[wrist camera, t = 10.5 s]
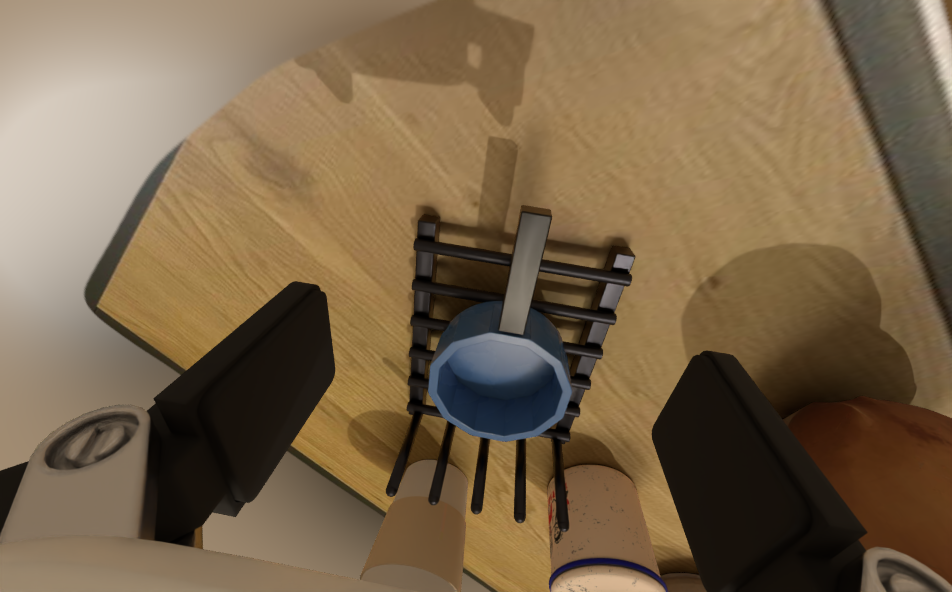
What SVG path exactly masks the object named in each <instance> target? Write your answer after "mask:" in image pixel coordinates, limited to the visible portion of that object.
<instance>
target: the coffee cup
mask: <svg viewBox="0 0 952 592" xmlns="http://www.w3.org/2000/svg"><path fill="white" fill-rule="evenodd" d="M437 461H438V460H421V461H418V462H415V463H413V464H411V465H410V466H409V467H408V468H407V470H406V472H405V475H404V477H403V480H402V482H401V484H400V487H399V489H398V492H397V494H396V497H395V499H394V501H393V503H392V504H391V505H390V507H389V509H388V512H387V514H386V516H385V519H384V521H383V523H382V526H381V528H380V531H379V533H378V535H377V538H376V540H375V543H374V545H373V547H372V550H371V552H370V554H369V557H368V559H367V562H366V564H365V566H364V569H363V571H362V573H361V576H360V580H363V581H368V582H373V583H378V584H383V585H388V586H393V587H398V588H403V589H407V590H412V591H417V592H461V584H462V571H463V558H464V544H465V531H466V522H465V513H466V501H467V489H468V481H467V478H466V476H465V475H464V474H463V472H462V471H460V470H459V469H458V468H456V467H455V466H453V465H451V464H449V463H448V464H447V469H446V473H445V478H444V482H443V487H442V491H441V496H440V500H439V503H438V504H437V505H434V506H433V505H431V504H430V503H429V502H428V497H429V493H430V489H431V485H432V481H433V477H434V473H435V469H436V465H437Z"/></svg>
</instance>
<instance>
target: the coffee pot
mask: <svg viewBox="0 0 952 592" xmlns="http://www.w3.org/2000/svg"><path fill="white" fill-rule="evenodd" d="M660 577H661V578H662V580H663V581H664V582H665V584H666V586H667V590H668V592H707V591H706V589H705V588H704V586H703V583H702V581H701V578H700V575H696V574H689V573H672V574H666V575H662V576H660Z"/></svg>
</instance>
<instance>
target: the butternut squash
mask: <svg viewBox="0 0 952 592" xmlns="http://www.w3.org/2000/svg"><path fill="white" fill-rule="evenodd" d="M783 421H784V422H785V424H786V425H787V426H788V428H789V429H790V430H791V432H792V433H793V434H794V436H795V437H796V438H797V439H798V441H799V442H800V443H801V445H802V446H803V447H804V449H805V450H806V451H807V453H808V454H809V455H810V457H811V458H812V459H813V461H814V462H815V463H816V465H817V466H818V467H819V469H820V470H821V471H822V473H823V474H824V475H825V477H826V478H827V479H828V481H829V482H830V483H831V484H832V486H833V487H834V488H835V490H836V491H837V492H838V494H839V495H840V496H841V498H842V499H843V500H844V502H845V503H846V504H847V506H848V507H849V508H850V510H851V511H852V512H853V514H854V515H855V516H856V518H857V519H858V520H859V522H860V523H861V524H862V526H863V527H864V528H865V529H866V531H867V532H868V533H867V534H865V535H864V536H863V537H861V538H860V539H859V541H860V542H861V544H862V545H863V547H864V548H865V549H866V550H869V549H871V548H874V547H883V548H890V549H893V550H895V551H898V552H901V553H904V554H906V555H908V556H910V557H911V558H913V559H915V560H917V561H919V562H920V563H922V564H924V565H925V566H927V567H928V568H930V569H931V570H932V571H934V572H935V573H937V574H938V575H939V576H941V577H942V578H944V579H945V580H946V581H947V582H948V583H949V584H951V585H952V418H949V417H947V416H944V415H942V414H939V413H937V412H934V411H931V410H928V409H924V408H921V407H917V406H913V405H908V404H903V403H898V402H894V401H889V400H875V399H873V398H870V397H866V396H859V397H857V398H854V399H851V400H846V401H841V402H832V403H825V402H812V403H810V404H809V405H807V406H805V407H803V408H802V409H800V410H798V411H797V412H795V413H793V414H792V415H790V416H788V417H786V418H785V419H783Z"/></svg>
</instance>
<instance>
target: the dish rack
mask: <svg viewBox="0 0 952 592" xmlns="http://www.w3.org/2000/svg"><path fill="white" fill-rule="evenodd" d="M439 230H440V217H437V216H431V215H425V214H424V215H423V216H422V217H421V218H420V219H419V220H418V232H417V238H416V239H415V241H414V250H415V251H417V253H416V274H415V279H414V280H413V282H412V290H415V295H414V315H412V317H411V321H410V324H411V325H412V326H413V337H412V347H411V348H410V351H409V357H412V358H411V376H409V379H408V385H409V386H410V401H409V402H408V405H407V411H409V414H410V415H413V416H412V419H411V422H410V425H409V427H408V430H407V433H406V436H405V438H404V441H403V444H402V447H401V449H400V452H399V455H398V458H397V460H396V463H395V466H394V469H393V471H392V474H391V477H390V480H389V482H388V485H387V488H386V494H387V495H388V496H389V497H393V496H395V495H396V493H397V491H398V488H399V485H400V482H401V479H402V476H403V473H404V470H405V467H406V464H407V461H408V458H409V455H410V452H411V449H412V446H413V443H414V440H415V437H416V434H417V431H418V428H419V425H420V422H421V419H422V416H423V414H425V415H430V416H436V417H441V418H444V417H443V416H442V415H441V413H440V411H439V410H438V408H437V407H436V406H430V405H426V394H427V389H428V387H429V379H428V369H429V361H432V359H433V357H434V354H435V351H432V350H430V344H431V331H432V329H434V330H440V331H445V330H446V328H447V327H448V325H449V324H450V322H451V321H446V320H440V319H435V318H433V306H434V294H438V295H444V296H449V297H455V298H461V299H467V300H472V301H478V302H490V301H503V298H504V294H500V293H494V292H488V291H482V290H477V289H471V288H465V287H459V286H453V285H448V284H442V283H436V282H435V280H436V268H437V255H438V254H439V255H445V256H451V257H457V258H463V259H468V260H474V261H480V262H486V263H492V264H498V265H504V266H510V262H511V257H512V254H507V253H501V252H495V251H490V250H484V249H478V248H472V247H466V246H460V245H454V244H448V243H442V242H439ZM634 260H635V255H634V254H633V252H632V251H631V249H630V248H626V247H620V246H614V245H613V246H612V248H611V250H610V253H609V256H608V259H607V262H606V265H605V268H604V270H603V269H597V268H591V267H585V266H579V265H573V264H567V263H561V262H555V261H549V260H543V259H542V262H541V266H540V270H539V272H545V273H551V274H557V275H563V276H569V277H574V278H580V279H586V280H592V281H598V282H600V283H599V286H598V289H597V292H596V295H595V298H594V301H593V304H592V307H591V309H586V308H580V307H574V306H569V305H563V304H557V303H551V302H546V301H540V300H534V299H532V303H531V308H532V309H534V310H536V311H538V312H541V313H546V314H552V315H558V316H563V317H569V318H575V319H581V320H586V324H585V327H584V330H583V333H582V336H581V339H580V342H579V344H574V343H569V342H563V345H564V349H565V352H566V353H567V354H573V355H575V357H574V360H573V363H572V366H571V369H570V378H571V385H572V394H571V397H570V400H569V403H568V405H567V408H566V411H565V414H564V417H563V418H562V419H561V420H560V421H558V422H557V423H555V424H554V425H553V426H551V428H548V429H547V430H546V431H544V432H543V433H541V434H540V435H538V436H540V437H545V438H550V439H551V442H552V454H553V468H554V483H555V497H556V512H557V525H558V528H559V530H560V531H561V532H567V531H568V530H569V515H568V505H567V495H566V485H565V474H564V464H563V454H562V444H565V441H566V442H569V441H570V432H569V431H570V428H571V426H572V423H573V420H574V418H575V417H579V416H580V407H579V404H580V402H581V399H582V397H583V394H584V391H585V389H586V390H589V389H590V387H591V380H590V379H589V378H590V375H591V373H592V370H593V368H594V365H595V362H596V360H597V359H601V358H602V356H603V349H602V348H601V347H602V344H603V341H604V339H605V336H606V333H607V331H608V328H609V325H614V324H615V323H616V319H617V316H616V314H615V313H614V312H615V310H616V307H617V304H618V302H619V299H620V296H621V294H622V291H623V289H624V286H627V287H628V286H630V284H631V281H632V275H631V274H629V273H630V270H631V267H632V265H633V262H634ZM455 428H456V426H455V425H454V424H452V423H451V422H449V421H447V425H446V429H445V433H444V437H443V441H442V445H441V449H440V453H439V457H438V461H437V465H436V469H435V473H434V477H433V481H432V485H431V489H430V493H429V497H428V502H429V503H430V504H431V505H433V506H434V505H437V504H438V503H439V500H440V496H441V491H442V487H443V482H444V478H445V473H446V469H447V464H448V459H449V455H450V450H451V446H452V441H453V437H454V432H455ZM489 444H490V439H488V438H483V437H480V445H479V452H478V459H477V466H476V473H475V480H474V487H473V495H472V502H471V511H472V512H473V513H474V514H479V513H481V511H482V507H483V498H484V489H485V480H486V471H487V462H488V453H489ZM525 518H526V438H524V439H519V440H516V467H515V497H514V519H515V521H516V522H517V523H523V522H524V521H525Z"/></svg>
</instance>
